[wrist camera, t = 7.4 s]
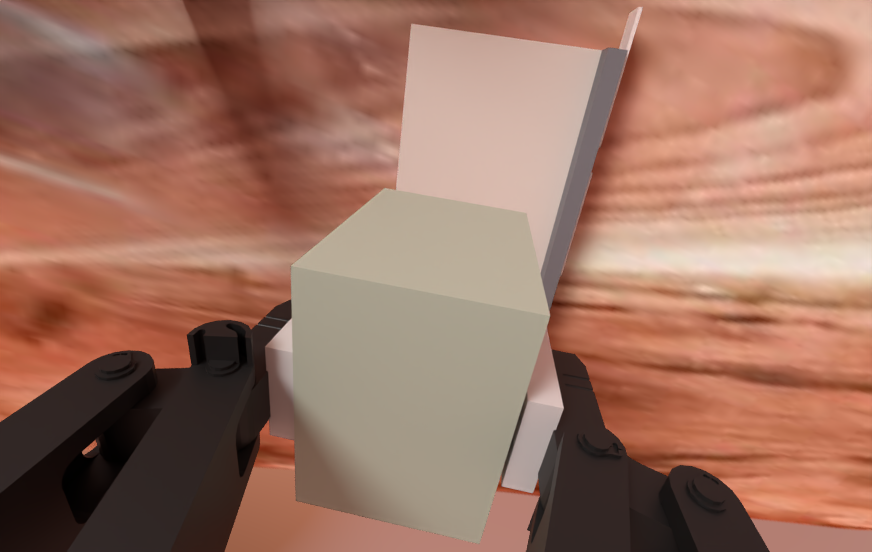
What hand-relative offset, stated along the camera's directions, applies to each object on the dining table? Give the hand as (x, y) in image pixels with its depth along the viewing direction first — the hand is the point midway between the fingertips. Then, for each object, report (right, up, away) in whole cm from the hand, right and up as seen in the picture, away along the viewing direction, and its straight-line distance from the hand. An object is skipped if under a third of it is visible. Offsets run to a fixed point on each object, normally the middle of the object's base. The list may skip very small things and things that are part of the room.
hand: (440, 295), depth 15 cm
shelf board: (+3, +7, +13) cm, 15 cm away
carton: (0, 0, 0) cm, 0 cm away
